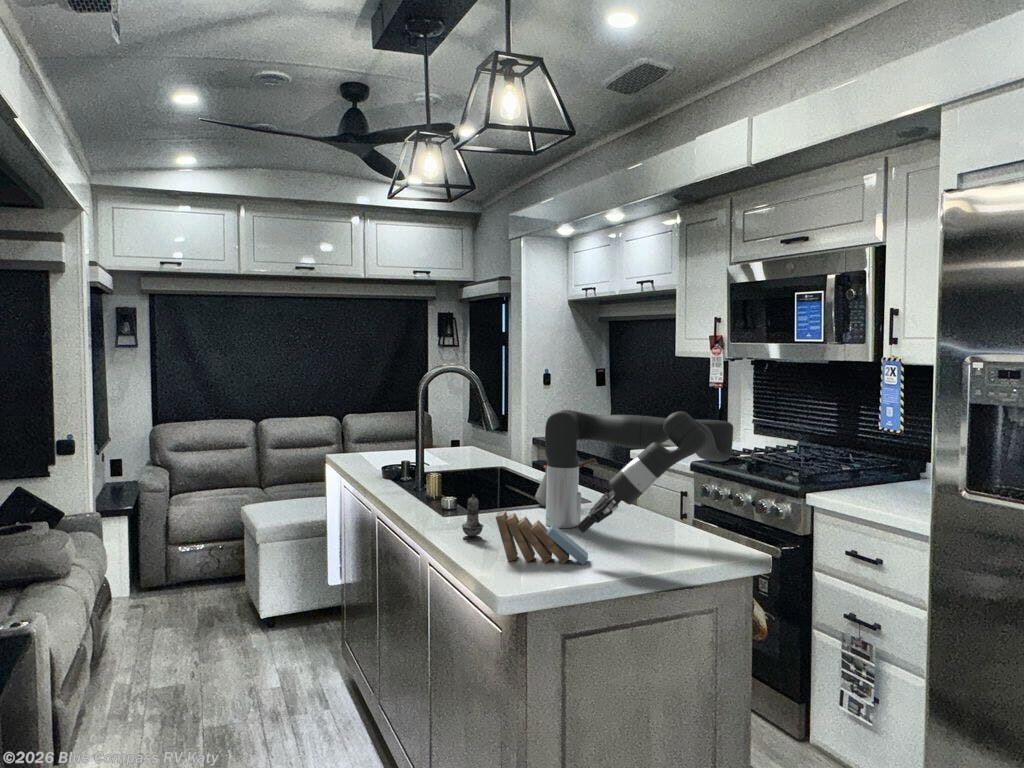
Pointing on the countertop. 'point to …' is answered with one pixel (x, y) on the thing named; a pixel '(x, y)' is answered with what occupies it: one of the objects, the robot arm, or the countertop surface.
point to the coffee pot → (543, 486)
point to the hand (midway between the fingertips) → (579, 529)
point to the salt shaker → (472, 521)
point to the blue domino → (567, 544)
